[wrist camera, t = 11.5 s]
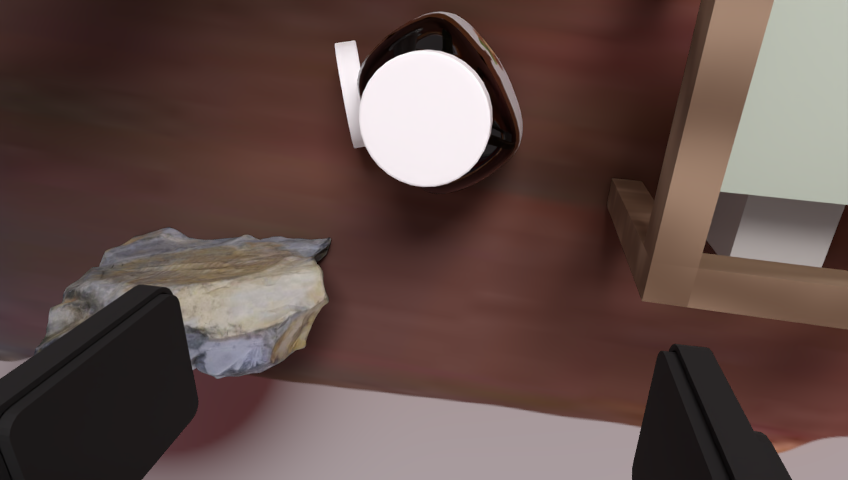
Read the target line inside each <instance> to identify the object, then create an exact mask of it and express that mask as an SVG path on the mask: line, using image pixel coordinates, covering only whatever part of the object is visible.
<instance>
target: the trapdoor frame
mask: <svg viewBox="0 0 848 480" xmlns="http://www.w3.org/2000/svg"><path fill="white" fill-rule="evenodd" d="M773 2H774V0H701V3H700V8H699V12H698V16H697V20H696V25H695V29H694V33H693V37H692V42H691V46H690V50H689V54H688V59H687V63H686V67H685V71H684V76H683V80H682V84H681V89H680V93H679V97H678V101H677V106H676V110H675V114H674V118H673V123H672V127H671V131H670V135H669V140H668V144H667V148H666V152H665V157H664V161H663V165H662V169H661V174H660V178H659V182H658V187H657V191H656V195H655V199H653V198H652V196H651V195H650V193H649V192H648V190H647V188H646V187H645V185H644V184H643V182H642V181H636V180H626V179H617V178H612V180H611V185H610V190H609V195H608V200H607V207H608V210H609V213H610V216H611V218H612V221H613V224H614V226H615V229H616V232H617V235H618V237H619V240H620V243H621V245H622V248H623V251H624V254H625V256H626V259H627V262H628V264H629V267H630V270H631V272H632V275H633V278H634V281H635V283H636V286H637V289H638V291H639V294H640V297H641V300H642V301H646V302H653V303H660V304H667V305H675V306H682V307H689V308H696V309H703V310H711V311H718V312H725V313H732V314H740V315H747V316H754V317H761V318H768V319H776V320H783V321H790V322H797V323H804V324H812V325H819V326H826V327H833V328H841V329H848V271H846V270H838V269H830V268H821V267H813V266H805V265H797V264H789V263H781V262H773V261H764V260H756V259H748V258H740V257H732V256H724V255H715V254H707V253H703V250H704V246H705V242H706V239H707V235H708V232H709V228H710V225H711V221H712V218H713V214H714V211H715V207H716V204H717V200H718V197H719V193H720V190H721V186H722V182H723V179H724V175H725V172H726V168H727V165H728V161H729V158H730V154H731V151H732V147H733V144H734V140H735V137H736V133H737V130H738V126H739V122H740V119H741V115H742V112H743V108H744V105H745V101H746V98H747V94H748V91H749V87H750V84H751V80H752V77H753V73H754V69H755V66H756V62H757V59H758V55H759V52H760V48H761V45H762V41H763V38H764V34H765V31H766V27H767V24H768V20H769V17H770V13H771V9H772V6H773Z"/></svg>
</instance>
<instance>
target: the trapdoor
mask: <svg viewBox="0 0 848 480" xmlns="http://www.w3.org/2000/svg"><path fill="white" fill-rule="evenodd" d="M720 192H729V193H738V194H748V195H757V196H767V197H776V198H786V199H796V200H805V201H815V202H824V203H834V204H843V205H848V0H774V2H773V6H772V9H771V13H770V17H769V20H768V24H767V27H766V31H765V34H764V38H763V41H762V45H761V48H760V52H759V55H758V59H757V62H756V66H755V69H754V73H753V77H752V80H751V84H750V87H749V91H748V94H747V98H746V101H745V105H744V108H743V112H742V115H741V119H740V122H739V126H738V130H737V133H736V137H735V140H734V144H733V147H732V151H731V154H730V158H729V161H728V165H727V168H726V172H725V175H724V179H723V182H722V186H721V190H720Z"/></svg>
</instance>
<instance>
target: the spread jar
mask: <svg viewBox="0 0 848 480" xmlns="http://www.w3.org/2000/svg"><path fill="white" fill-rule="evenodd" d="M335 52H336V59H337V65H338V71H339V77H340V83H341V88H342V94H343V99H344V104H345V110H346V115H347V120H348V125H349V129H350V134H351V138H352V143H353V146H354V148H359V147H366V149H367V150H368V152H369V154H370V156H371V157H372V159H373V160H374V161H375V162H376V164H377V165H378V166H379V167H380V168H381V169H382V170H384V171H385V172H386V173H387V174H388V175H390V176H392V177H393V178H395V179H397V180H398V181H401V182H404V183H406V184H409V185H413V186H419V187H420V188H422V189H423V190H425V191H427V192H430V193H434V194H446V193H452V192H455V191H459V190H461V189H464V188H467V187H469V186H472V185H474V184H476V183H478V182H480V181H481V180H483V179H485V178H487V177H488V176H490V175H491V174H493V173H494V172H495V171H497V170H498V169H499V168H500V167H502V166H503V165H504V164H505V163H506V162H507V161H508V160H509V159H510V158H511V157H512V156H513V155H514V154H515V152H516V151H517V149H518V147H519V145H520V142H521V138H522V132H523V123H522V116H521V111H520V108H519V104H518V101H517V98H516V95H515V93H514V90H513V87H512V85H511V82H510V80H509V78H508V76H507V73H506V71H505V69H504V68H503V66H502V64H501V62H500V61H499V59H498V58H497V56H496V55H495V53H494V52H493V50H492V49H491V48H490V47H489V45H488V44H487V43H486V42H485V40H484V39H483V38H482V37H481V36H480V35H479V33H478V32H477V31H476V30H475V29H474V28H473V27H472V26H471V25H470V24H469V23H468V22H466V21H465V20H464V19H462V18H461V17H459V16H457V15H456V14H452V13H448V12H432V13H428V14H425V15H423V16H420V17H418V18H416V19H414V20H411V21H409V22H408V23H406V24H404V25H403V26H401V27H400V28H398V29H397V30H395V31H394V32H392V33H391V34H389V35H388V36H387V37H385V38H384V39H383V40H382V41H381V42H380V43H379V44H378V45H377V46H376V47H375V48H374V49H373V50H372V51H371V53H370V54H369V55H368V56H367V58H366V59H365V61H364V62H363V64H362V66H361V68H360V62H359V57H358V51H357V46H356V41H355V40H354V41H347V42H340V43H335Z"/></svg>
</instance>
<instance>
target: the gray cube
mask: <svg viewBox="0 0 848 480" xmlns="http://www.w3.org/2000/svg"><path fill="white" fill-rule="evenodd" d="M844 207H845V205H843V204H834V203H824V202H815V201H805V200H796V199H786V198H776V197H767V196H757V195H748V194H738V193H729V192H720V193H719V197H718V200H717V204H716V207H715V211H714V214H713V218H712V221H711V225H710V228H709V232H708V235H707V239H706V240H707V242H708V243H709V244H710V246H711V247H712V248H713V249H714V251H715V252H716V253H717V255H724V256H732V257H740V258H748V259H756V260H764V261H773V262H781V263H789V264H797V265H805V266H813V267H821V268H822V265H823V262H824V260H825V257H826V255H827V252H828V249H829V247H830V244H831V241H832V239H833V236H834V234H835V231H836V228H837V226H838V223H839V220H840V218H841V215H842V213H843V210H844Z"/></svg>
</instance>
